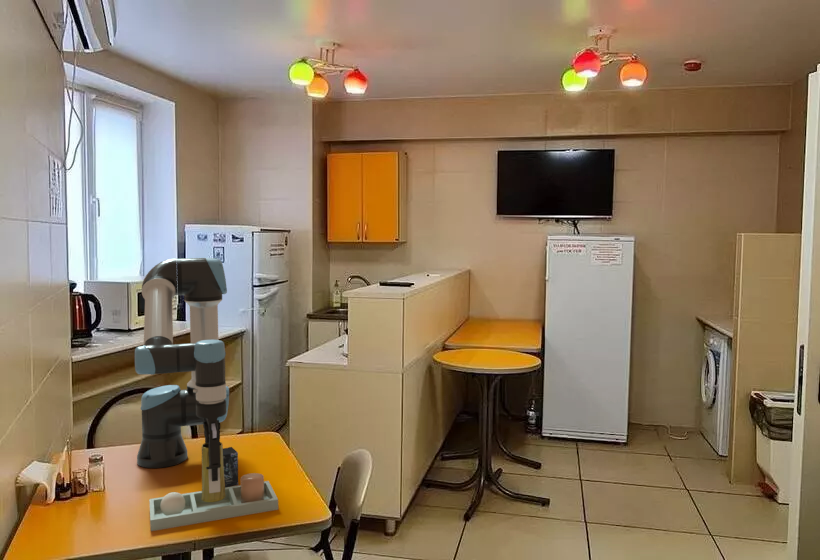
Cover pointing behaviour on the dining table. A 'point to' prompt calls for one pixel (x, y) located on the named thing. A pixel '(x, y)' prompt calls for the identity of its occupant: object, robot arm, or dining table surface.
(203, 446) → the vase
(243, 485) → the pink pillar candle
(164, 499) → the ball
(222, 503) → the tray
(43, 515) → the dining table surface
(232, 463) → the box
